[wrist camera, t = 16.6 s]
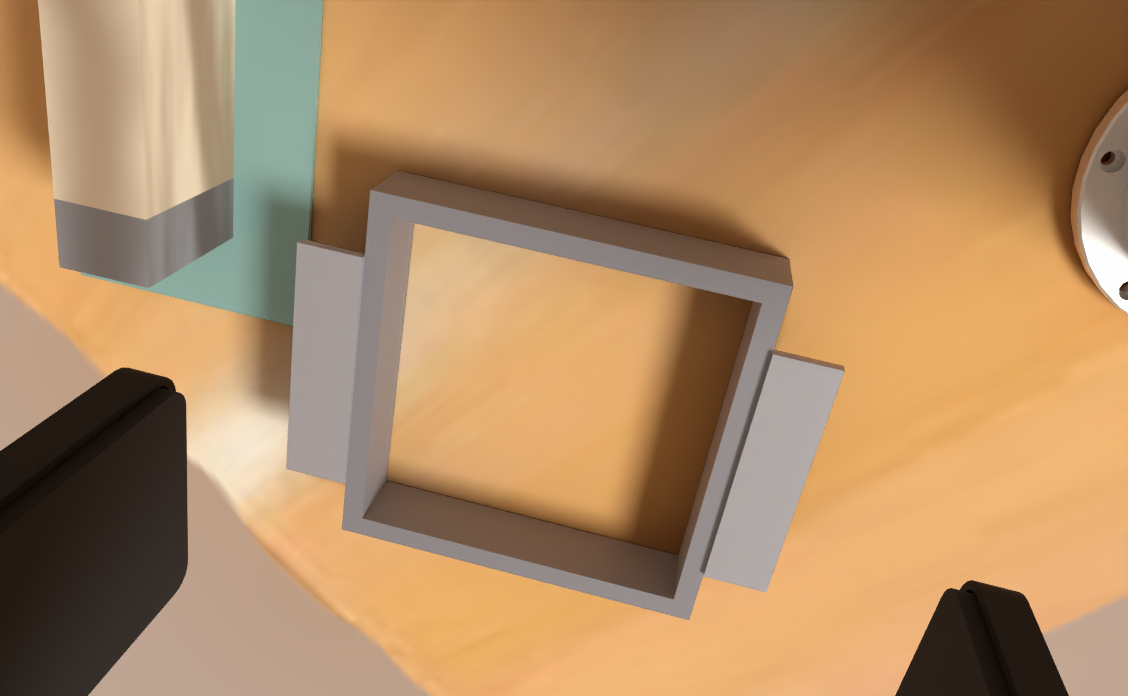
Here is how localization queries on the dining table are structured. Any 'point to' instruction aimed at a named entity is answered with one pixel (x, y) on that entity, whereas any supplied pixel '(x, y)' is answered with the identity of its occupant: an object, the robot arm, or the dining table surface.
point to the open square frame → (514, 542)
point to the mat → (264, 165)
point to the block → (139, 132)
